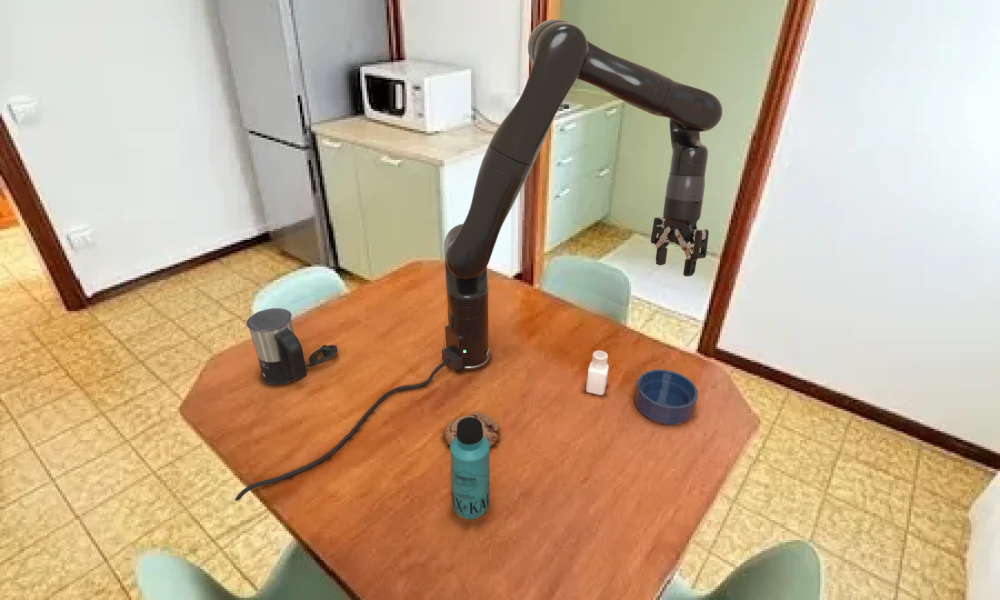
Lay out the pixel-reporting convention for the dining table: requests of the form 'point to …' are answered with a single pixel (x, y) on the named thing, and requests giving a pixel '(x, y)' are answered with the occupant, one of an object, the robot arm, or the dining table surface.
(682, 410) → the bowl
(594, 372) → the salt shaker
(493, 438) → the cookie
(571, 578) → the dining table surface
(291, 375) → the milk frother
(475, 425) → the beverage bottle
